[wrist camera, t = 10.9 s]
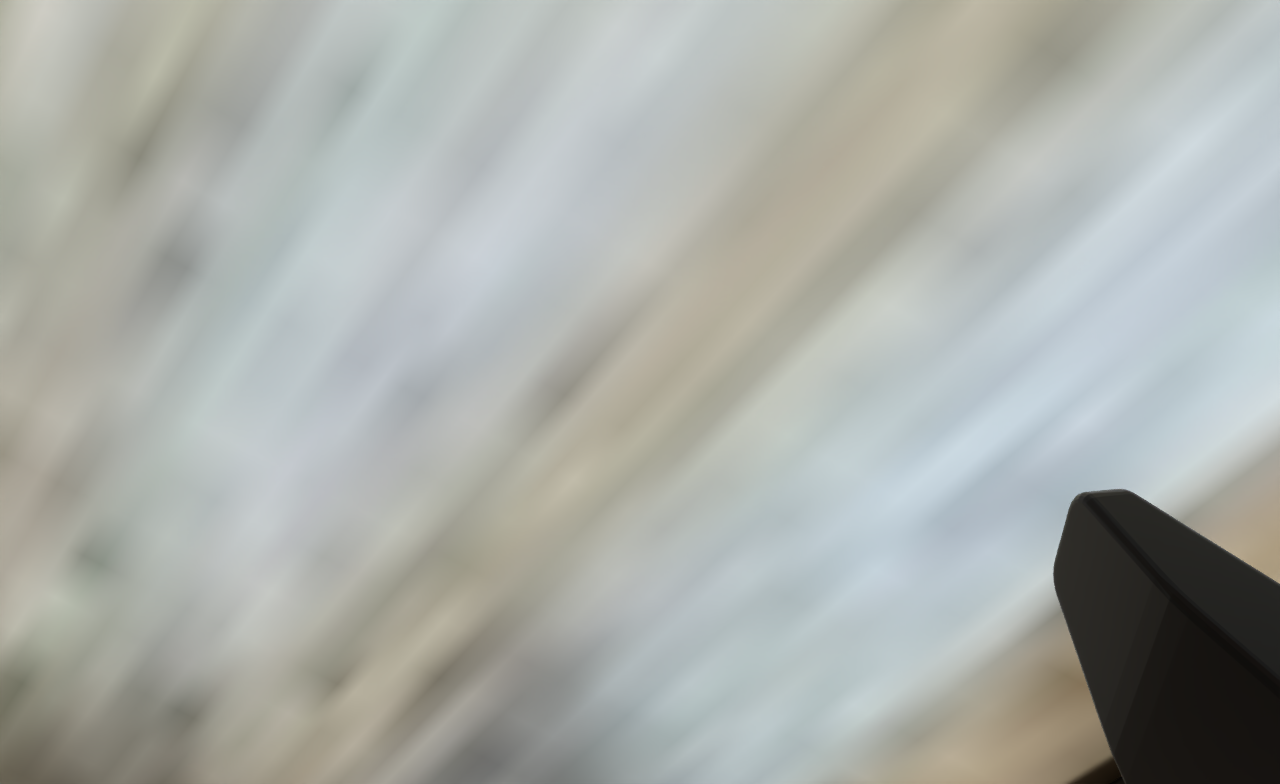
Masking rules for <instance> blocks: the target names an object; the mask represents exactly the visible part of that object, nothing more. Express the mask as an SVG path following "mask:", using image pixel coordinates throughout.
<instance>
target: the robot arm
mask: <svg viewBox="0 0 1280 784" xmlns="http://www.w3.org/2000/svg"><path fill="white" fill-rule="evenodd" d="M1053 576H1054V585H1055V590H1056V594H1057V597H1058V600H1059V603H1060V606H1061V609H1062V612H1063V615H1064V618H1065V620H1066V623H1067V626H1068V629H1069V632H1070V635H1071V638H1072V641H1073V644H1074V647H1075V650H1076V653H1077V655H1078V658H1079V661H1080V664H1081V667H1082V670H1083V673H1084V676H1085V679H1086V682H1087V685H1088V688H1089V691H1090V693H1091V696H1092V699H1093V702H1094V705H1095V708H1096V711H1097V714H1098V717H1099V720H1100V723H1101V726H1102V728H1103V731H1104V734H1105V737H1106V739H1107V742H1108V745H1109V747H1110V750H1111V753H1112V755H1113V758H1114V760H1115V762H1116V764H1117V767H1118V769H1119V771H1120V773H1121V776H1122V777H1120V778H1118V779H1117V780H1115V781H1113V782H1111V783H1110V784H1280V584H1279V583H1277V582H1276V581H1274V580H1273V579H1271V578H1269V577H1268V576H1266V575H1265V574H1263V573H1261V572H1260V571H1258V570H1257V569H1255V568H1253V567H1252V566H1250V565H1249V564H1247V563H1245V562H1244V561H1242V560H1241V559H1239V558H1237V557H1236V556H1234V555H1233V554H1231V553H1229V552H1228V551H1226V550H1225V549H1223V548H1221V547H1220V546H1218V545H1217V544H1215V543H1213V542H1212V541H1210V540H1209V539H1207V538H1205V537H1204V536H1202V535H1201V534H1199V533H1197V532H1196V531H1194V530H1193V529H1191V528H1189V527H1188V526H1186V525H1184V524H1183V523H1181V522H1180V521H1178V520H1176V519H1175V518H1173V517H1172V516H1170V515H1168V514H1167V513H1165V512H1164V511H1162V510H1160V509H1159V508H1157V507H1156V506H1154V505H1152V504H1151V503H1149V502H1148V501H1146V500H1144V499H1143V498H1141V497H1140V496H1138V495H1136V494H1134V493H1133V492H1131V491H1128V490H1124V489H1112V490H1102V491H1091V492H1084V493H1081V494H1079V495H1077V496H1076V497H1075V498H1074V499H1073V501H1072V502H1071V505H1070V507H1069V511H1068V514H1067V518H1066V522H1065V525H1064V529H1063V533H1062V536H1061V540H1060V544H1059V547H1058V551H1057V555H1056V558H1055V563H1054V572H1053Z"/></svg>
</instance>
